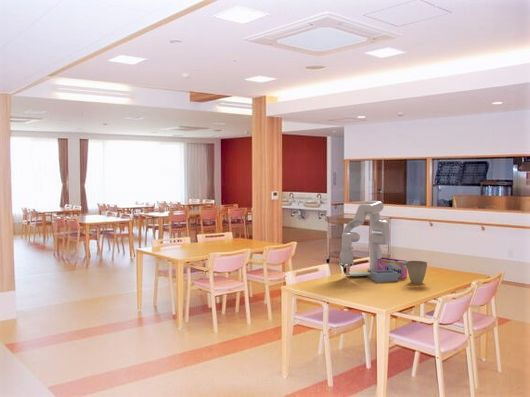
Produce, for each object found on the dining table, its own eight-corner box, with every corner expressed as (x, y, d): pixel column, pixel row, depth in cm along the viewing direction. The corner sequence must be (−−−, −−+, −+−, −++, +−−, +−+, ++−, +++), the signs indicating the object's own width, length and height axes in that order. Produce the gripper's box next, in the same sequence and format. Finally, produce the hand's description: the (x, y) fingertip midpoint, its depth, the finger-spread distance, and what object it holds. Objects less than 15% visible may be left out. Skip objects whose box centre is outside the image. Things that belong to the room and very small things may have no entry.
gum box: (375, 275, 403) (375, 258, 403) (380, 273, 409) (380, 257, 408) (402, 279, 387) (402, 262, 386) (407, 278, 392) (407, 260, 392)
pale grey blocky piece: (342, 274, 396) (342, 264, 396) (365, 273, 400) (365, 263, 400) (347, 277, 385) (348, 267, 385) (371, 276, 390) (371, 266, 389)
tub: (370, 280, 384) (370, 270, 384) (391, 279, 388) (391, 270, 388) (376, 283, 374) (377, 273, 373) (397, 282, 377) (398, 272, 377)
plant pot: (428, 282, 375) (429, 261, 374) (424, 286, 362) (425, 264, 361) (408, 280, 382) (408, 259, 382) (403, 284, 369) (404, 262, 368)
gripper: (354, 248, 395) (354, 271, 396) (335, 248, 392) (335, 272, 393) (358, 249, 388) (357, 273, 389) (338, 250, 385) (338, 274, 385)
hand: (346, 272), depth 391 cm, fingers closed on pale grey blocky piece
